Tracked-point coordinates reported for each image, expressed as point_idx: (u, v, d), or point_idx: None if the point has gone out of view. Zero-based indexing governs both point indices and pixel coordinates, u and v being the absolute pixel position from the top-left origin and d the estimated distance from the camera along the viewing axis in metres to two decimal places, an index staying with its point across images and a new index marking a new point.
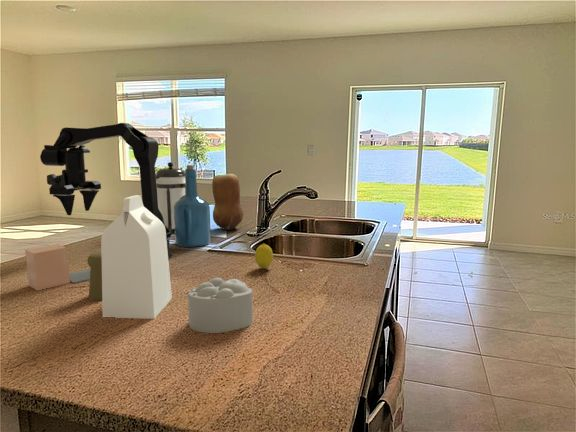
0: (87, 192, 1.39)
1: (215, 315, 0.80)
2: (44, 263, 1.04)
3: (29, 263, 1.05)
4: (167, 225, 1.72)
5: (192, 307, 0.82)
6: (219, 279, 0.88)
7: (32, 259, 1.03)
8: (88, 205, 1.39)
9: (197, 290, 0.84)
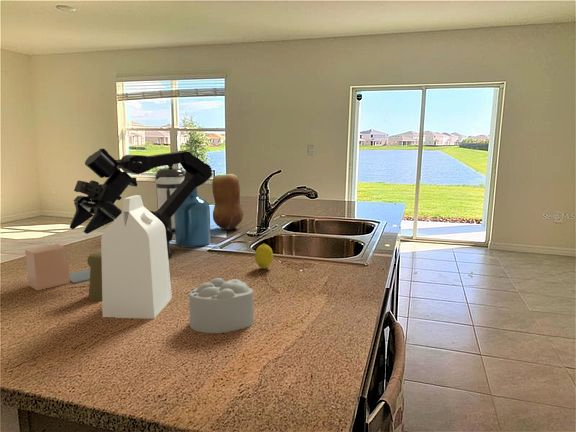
0: (85, 211, 1.19)
1: (216, 315, 0.80)
2: (44, 263, 1.04)
3: (29, 263, 1.05)
4: None
5: (193, 308, 0.81)
6: (220, 279, 0.88)
7: (32, 259, 1.03)
8: (77, 224, 1.17)
9: (198, 290, 0.84)
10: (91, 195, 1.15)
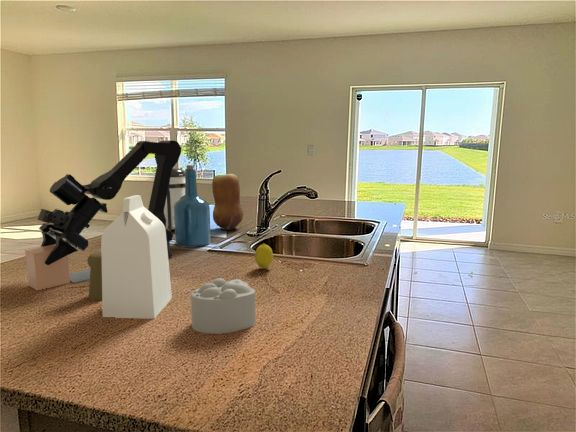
0: (53, 240, 1.12)
1: (218, 315, 0.80)
2: (44, 263, 1.04)
3: (29, 263, 1.05)
4: (167, 225, 1.72)
5: (195, 308, 0.81)
6: (222, 279, 0.88)
7: (32, 259, 1.03)
8: None
9: (200, 291, 0.83)
10: (56, 224, 1.09)
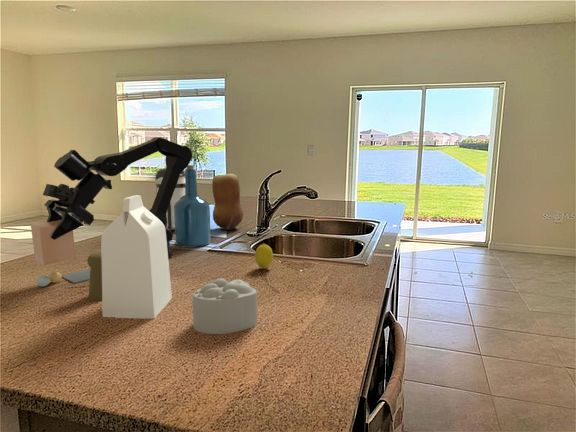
0: (59, 216, 1.12)
1: (220, 316, 0.80)
2: (50, 237, 1.05)
3: (35, 238, 1.05)
4: (167, 225, 1.72)
5: (197, 309, 0.81)
6: (223, 280, 0.88)
7: (38, 233, 1.03)
8: None
9: (201, 291, 0.83)
10: (62, 199, 1.09)
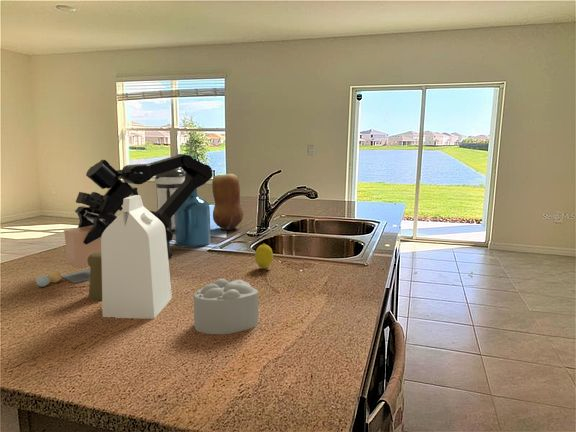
0: (89, 222, 1.19)
1: (222, 316, 0.80)
2: (82, 242, 1.11)
3: (68, 242, 1.12)
4: None
5: (198, 309, 0.81)
6: (224, 280, 0.88)
7: (72, 238, 1.10)
8: None
9: (202, 291, 0.83)
10: (92, 206, 1.16)
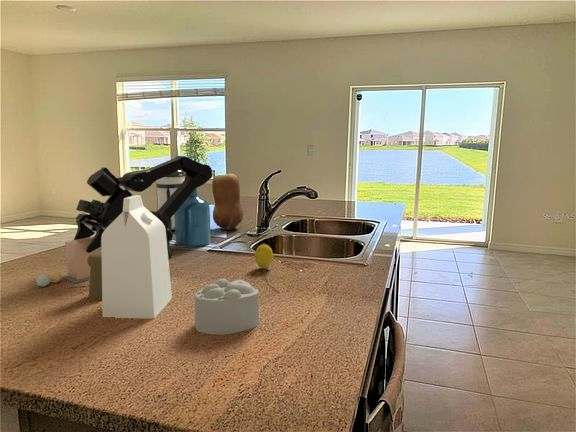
0: (87, 229, 1.20)
1: (223, 316, 0.80)
2: (83, 254, 1.12)
3: (69, 254, 1.13)
4: None
5: (199, 309, 0.81)
6: (224, 280, 0.88)
7: (73, 250, 1.11)
8: None
9: (203, 292, 0.83)
10: (93, 214, 1.16)
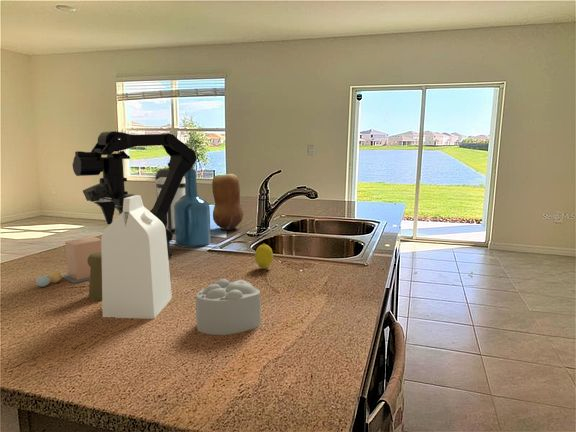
0: (108, 203, 1.24)
1: (224, 316, 0.80)
2: (83, 254, 1.12)
3: (69, 254, 1.13)
4: (167, 225, 1.72)
5: (200, 310, 0.80)
6: (226, 280, 0.87)
7: (73, 250, 1.11)
8: (111, 217, 1.25)
9: (205, 292, 0.83)
10: None
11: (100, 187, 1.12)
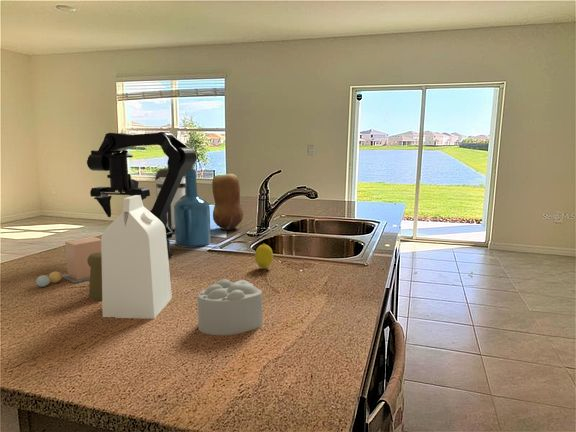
0: None
1: (227, 317, 0.80)
2: (83, 254, 1.12)
3: (69, 254, 1.13)
4: (167, 225, 1.72)
5: (202, 310, 0.80)
6: (227, 280, 0.87)
7: (73, 250, 1.11)
8: None
9: (206, 292, 0.83)
10: None
11: None
